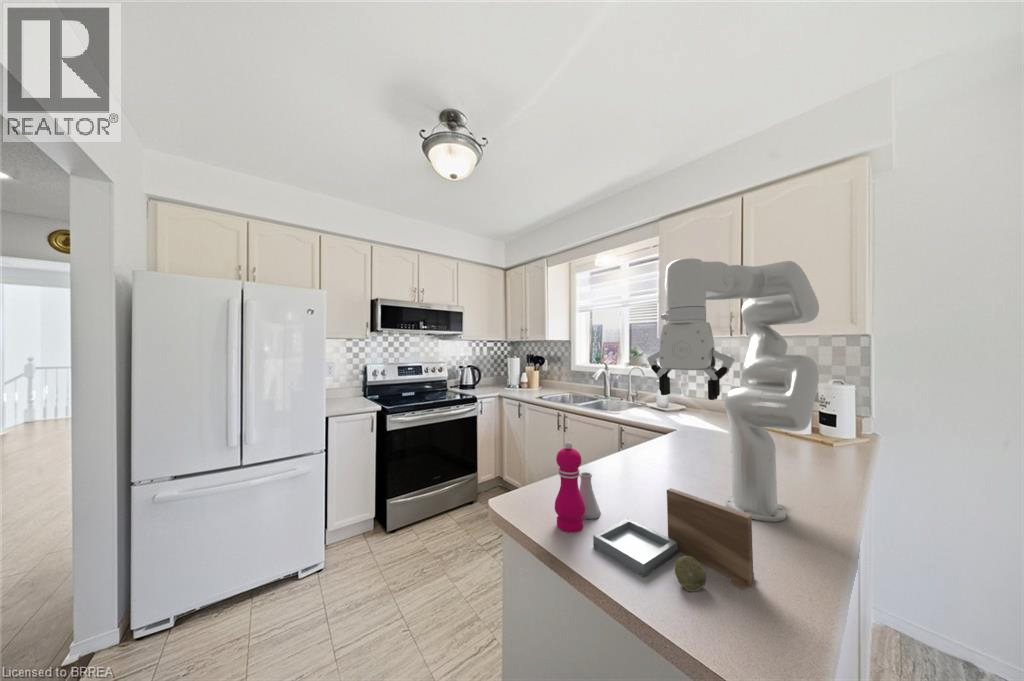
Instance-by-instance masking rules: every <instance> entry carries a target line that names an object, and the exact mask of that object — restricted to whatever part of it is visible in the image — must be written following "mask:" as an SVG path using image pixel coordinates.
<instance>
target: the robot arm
mask: <svg viewBox="0 0 1024 681" xmlns="http://www.w3.org/2000/svg"><path fill="white" fill-rule="evenodd" d="M664 291H665V294H666V311H665V313H662V314H660V318H661V321H665V322H666V323H667V324H663V325H662V327H661V328H662V329H661V335H660V342H659V351H657V352H656V353H654V354H651V355H650V356H648V357H647V359H646V360H647V362H648V364H649V366H650V368H651V370H652V371H653V372H654V373H655V374H656V376H657V377H658V386H659V391H660V395H661V396H669V395H670V394H671V378H670V376H668V375H669V373H671V372H672V370H675V371H676V370H677V371H680V370H681V371H703V372H705V373H706V375H707V376H708V377H709V379H708V380H707V397H708V398H707V399H708V400H709V401H714V400H718V397H719V396H720V395H721V394H720V393H721V389H720V388H721V387H720V385H721V383H720V382H721V379H722V378H723V377H724V376H725V375H726V374H728V373H729V372H730V369H731V368H732V367H733V365H734V363H735V358H733V357H731V356H730V355H727V354H725V353H723V352H721V351H719V350H716V347H715V341H714V340H715V339H714V335H713V331H712V326H711V323H710V322H707V301H713V300H714V301H716V300H717V301H718V300H719V301H721V300H739V299H748V300H746V301H745V302H743V305H742V307H741V318H742V320H743V324H744V328H745V330H746V333H747V335H748V338H749V345H748V348H747V352H746V355H745V359H744V361H743V365H742V368H741V372H740V373H741V376H740V377H741V381H742V383H743V384H744V385H746V386H748V387H737V388H733V389H731V390H729V391H728V392H727V394H726V395H725V399H724V406H725V411H726V415H727V421H728V425H729V433H730V461H731V462H730V463H731V488H732V490H731V492H732V493H731V495H729V496H727V497H726V498H725V505H726V507H728V508H731V509H733V510H736V511H739V512H742V513H745V514H748V515H751V519H753V520H757V521H762V522H781V521H783V520H785V519H786V518H787V517H786V516H787V514H786V513H787V512H786V510H785V509H784V508H783V507H782V506H780V505H779V504H778V485H777V484H778V481H777V480H778V479H777V457H776V456H777V455H776V453H777V451H776V443H775V441H774V438H773V436H771V434H770V433H769V431H768V430H767V428H769V429H770V428H772V429H776V430H777V429H778V430H784V431H791V432H792V431H793V432H802V431H804V430H806V429H807V428H808V427H809V425H810V423H811V420H812V415H813V411H814V405H815V400H816V395H817V392H818V385H819V376H820V375H819V368H818V365H817V363H816V361H815V360H814V359H813V358H811V357H809V356H807V355H804V354H802V355H801V354H787V351H788V342H787V341H786V339H785V338H784V337H783V336H782V335H781V334H780V333H779V332H778V331H776V330H775V329H773V328H772V326H776V325H777V326H779V325H780V326H781V325H793V324H794V325H795V324H807V323H809V322H813V321H814V320H816V318H817V317H818V315H819V312H820V304H819V300H818V297H817V296H816V293H815V291H814V289H813V286H812V285H811V283H810V281H809V279H808V277H807V275H806V273H805V271H804V270H803V268H802V267H801V266H800V265H799V264H798V263H796V262H795V261H792V260H784V261H779V262H774V263H768V264H763V265H757V266H752V265H743V264H731V265H730V264H727V263H726V262H723V261H703V260H702V259H701V258H700V259H699V258H694V257H693V258H692V257H689V258H680V259H677V260H676V259H675V260H673V261H671V262H670V263H668V264H667V266H666V269H665V281H664ZM658 360H659V365H658V362H657V361H658ZM716 360H720V361H722V365H721V366H720V368H719V369H716V363H717V362H716Z"/></svg>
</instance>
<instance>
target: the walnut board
mask: <svg viewBox="0 0 1024 681" xmlns="http://www.w3.org/2000/svg"><path fill="white" fill-rule="evenodd" d="M666 503H667V504H666V507H667V508H666V510H667V512H666V514H667V537H668V538H670V539H673V540H675V541H677V542H678V549H677V550H678V551H677V552H678V553H677V554H676V551H675V554H676V556H677V555H678V554H682V555H683V556H690V557H693V558H695V559H696V560H697V561H698V562H699V563H700V564H701V565H704V566H706V567H708V568H710V569H712V570H713V571H717V572H718V573H720V574H722V575H724V576H726V577H729V583H730V584H731V585H733V586H735V587H736V588H739V589H740V590H744V589H746V587H748V588H751V587H752V586H753V585H754V584H755V583H754V579H755V572H754V556H753V555H754V553H753V552H754V551H753V550H754V549H753V526H752V523H753V522H752V518H751V515H748V514H745V513H742V512H739V511H736V510H733V509H731V508H728V507H727V506H725V505H722V504H718V503H715V502H713V501H709V500H706V499H704V498H701V497H698V496H695V495H694V494H693V495H692V494H689V493H686V492H683V491H680V490H677V489H675V488H672V487H671V488H668V489H666Z"/></svg>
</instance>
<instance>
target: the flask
mask: <svg viewBox="0 0 1024 681" xmlns="http://www.w3.org/2000/svg"><path fill="white" fill-rule="evenodd" d="M579 474H580V475H579V478H580V484H579V491H580V494H581V496H582V498H583V501H584V504H585V513H584V515H583V516H582V518H583V519H585V520H591V519H599V517H600V516H601V513H602V512H601V509H600V506H599V503H598V502H597V498H596V496H595V493H594V490H593V485H592V477H593V474H592V473H591V472H587V471H582V472H579Z"/></svg>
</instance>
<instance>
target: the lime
mask: <svg viewBox="0 0 1024 681" xmlns="http://www.w3.org/2000/svg"><path fill="white" fill-rule="evenodd" d="M674 564H675V565H674V569H673V570H674V573H675V577H676V579H677V580H678V583H679V585H681V587H683V588H684V589H685V590H686V591H688V592H698V591H700V590H701V589H702V588H704V586H705V585H706V581H707V576H706V571H705V569H704V568H705V567H704V566H703V564H702V563H700V562H698V561H697V560H696V559H695V558H693V557H690V556H686V555H683V556H681V557H679V558H677V559H676V561H675V563H674Z"/></svg>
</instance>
